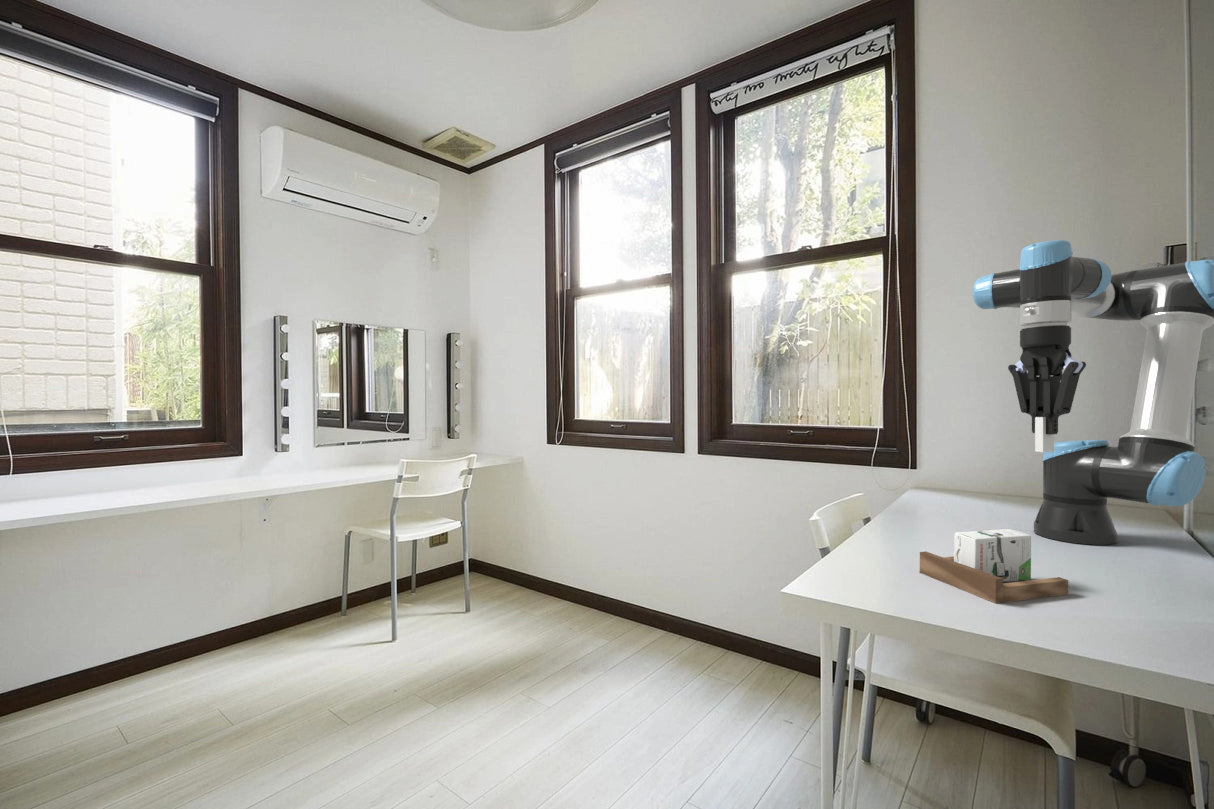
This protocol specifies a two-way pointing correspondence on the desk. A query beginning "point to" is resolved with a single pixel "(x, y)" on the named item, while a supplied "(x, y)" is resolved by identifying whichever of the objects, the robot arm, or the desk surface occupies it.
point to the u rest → (988, 581)
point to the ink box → (995, 553)
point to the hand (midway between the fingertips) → (1044, 451)
